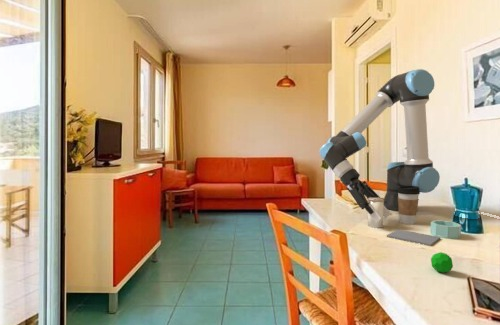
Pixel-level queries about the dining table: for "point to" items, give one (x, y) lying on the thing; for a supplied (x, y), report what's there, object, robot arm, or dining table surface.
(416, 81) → the robot arm
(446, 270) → the polyhedron
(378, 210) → the tumbler
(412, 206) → the coffee cup
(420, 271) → the dining table surface
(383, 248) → the dining table surface
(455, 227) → the bowl
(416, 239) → the mat
